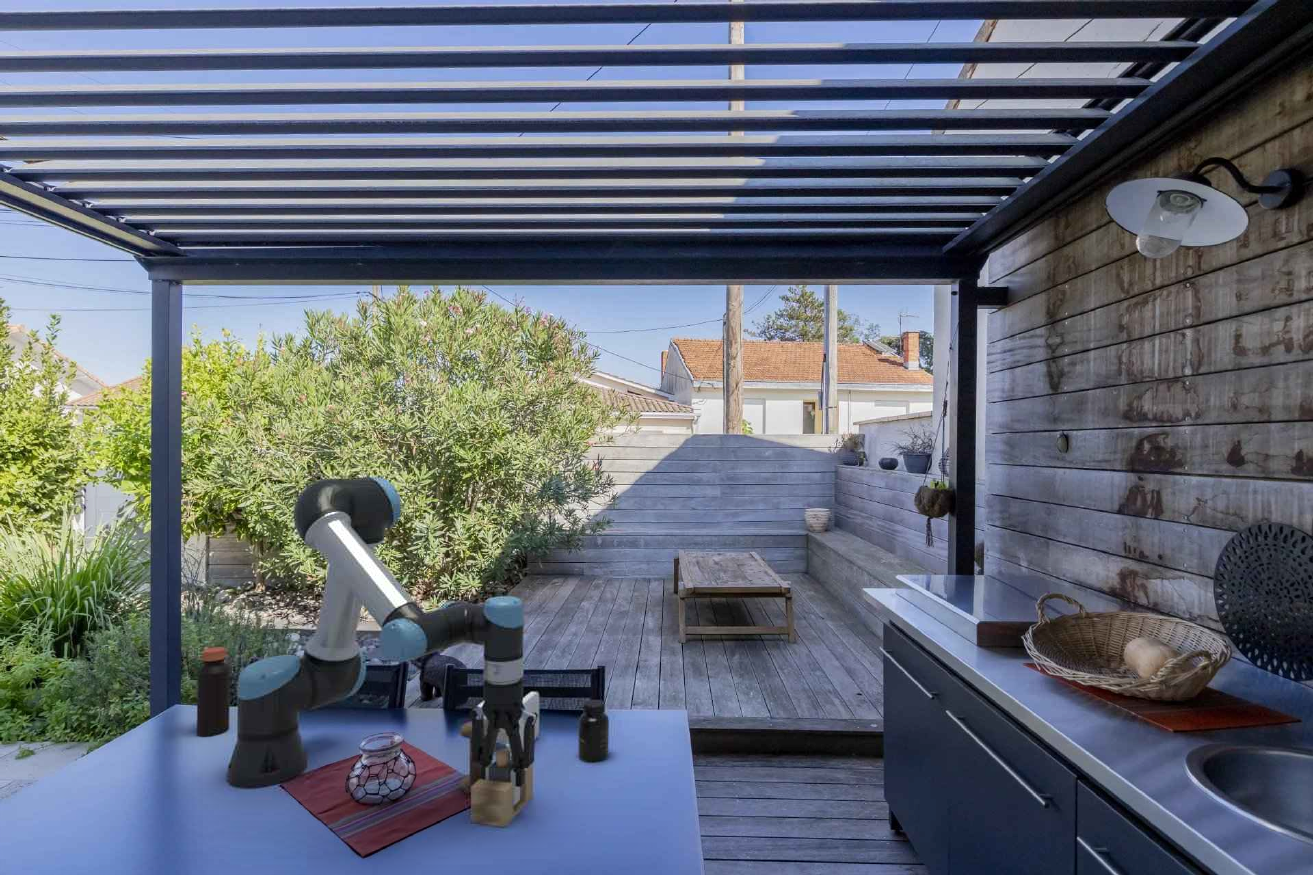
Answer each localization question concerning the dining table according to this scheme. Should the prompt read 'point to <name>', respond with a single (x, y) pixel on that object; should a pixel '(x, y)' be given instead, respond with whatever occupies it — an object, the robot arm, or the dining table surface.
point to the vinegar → (213, 693)
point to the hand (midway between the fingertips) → (502, 800)
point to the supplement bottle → (593, 732)
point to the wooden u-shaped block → (499, 800)
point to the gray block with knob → (501, 767)
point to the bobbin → (474, 766)
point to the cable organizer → (521, 719)
